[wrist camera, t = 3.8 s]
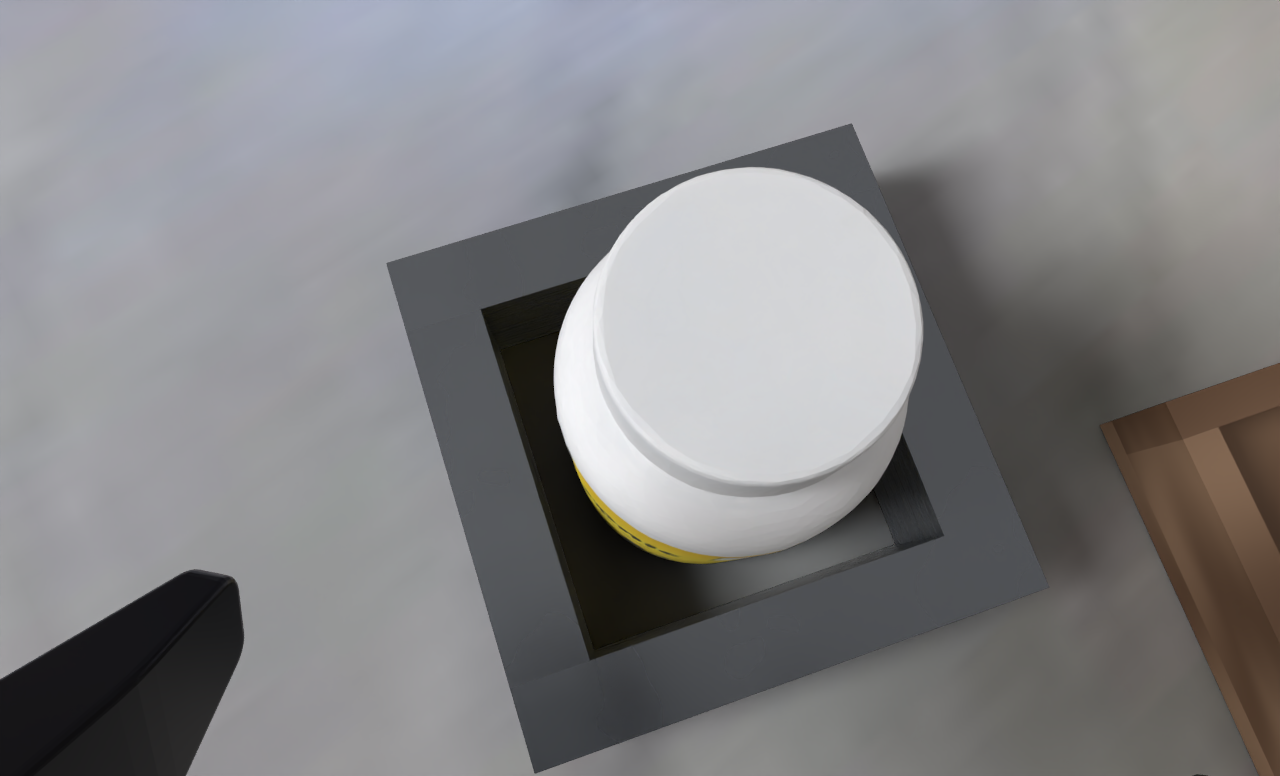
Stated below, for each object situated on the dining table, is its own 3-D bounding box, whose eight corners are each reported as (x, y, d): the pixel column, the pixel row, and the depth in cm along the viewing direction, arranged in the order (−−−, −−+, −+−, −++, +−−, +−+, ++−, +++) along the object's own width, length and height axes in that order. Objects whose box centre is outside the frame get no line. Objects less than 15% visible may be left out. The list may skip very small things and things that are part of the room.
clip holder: (984, 588, 19) (1049, 587, 17) (547, 745, 18) (534, 773, 16) (819, 187, 21) (851, 123, 19) (419, 309, 21) (386, 263, 18)
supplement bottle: (536, 387, 20) (462, 204, 11) (748, 294, 21) (858, 43, 11) (634, 609, 19) (651, 627, 10) (855, 504, 20) (1075, 425, 10)
